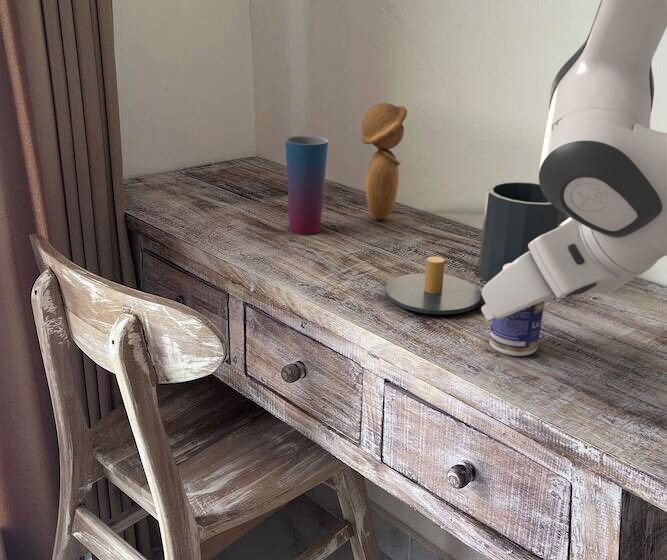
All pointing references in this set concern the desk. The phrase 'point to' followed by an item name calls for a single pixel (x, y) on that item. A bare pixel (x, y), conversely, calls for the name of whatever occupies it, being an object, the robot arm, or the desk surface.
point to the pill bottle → (517, 331)
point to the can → (513, 223)
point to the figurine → (383, 156)
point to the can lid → (433, 291)
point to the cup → (305, 182)
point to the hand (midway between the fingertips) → (512, 303)
